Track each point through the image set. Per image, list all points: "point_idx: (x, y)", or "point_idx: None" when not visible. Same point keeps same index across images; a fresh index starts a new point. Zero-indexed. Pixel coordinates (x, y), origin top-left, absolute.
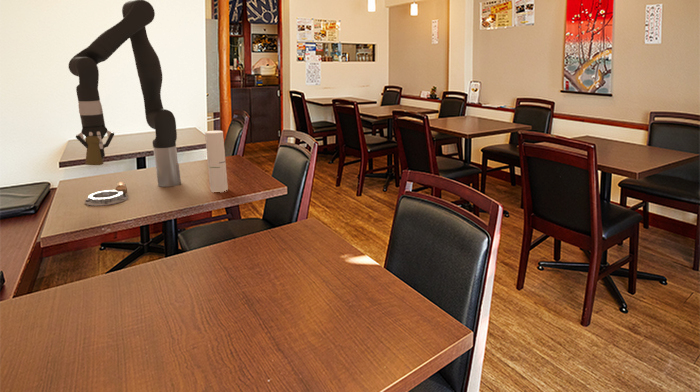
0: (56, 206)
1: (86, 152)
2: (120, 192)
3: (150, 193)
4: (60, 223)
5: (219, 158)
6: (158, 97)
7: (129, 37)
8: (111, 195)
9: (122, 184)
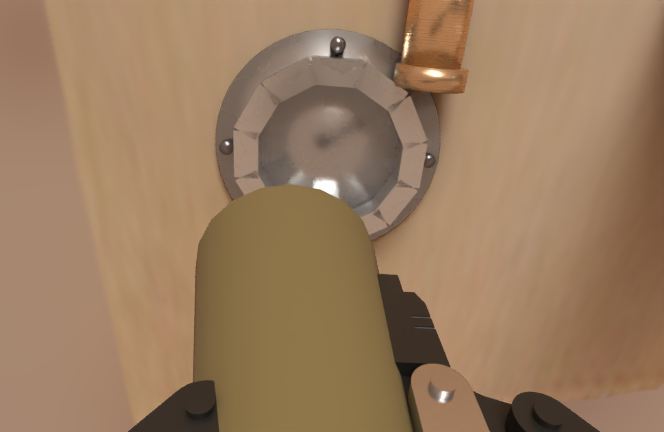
0: (72, 131)
1: (193, 368)
2: (411, 161)
3: (562, 134)
4: (157, 374)
5: None
6: None
7: None
8: (360, 94)
9: (460, 9)
